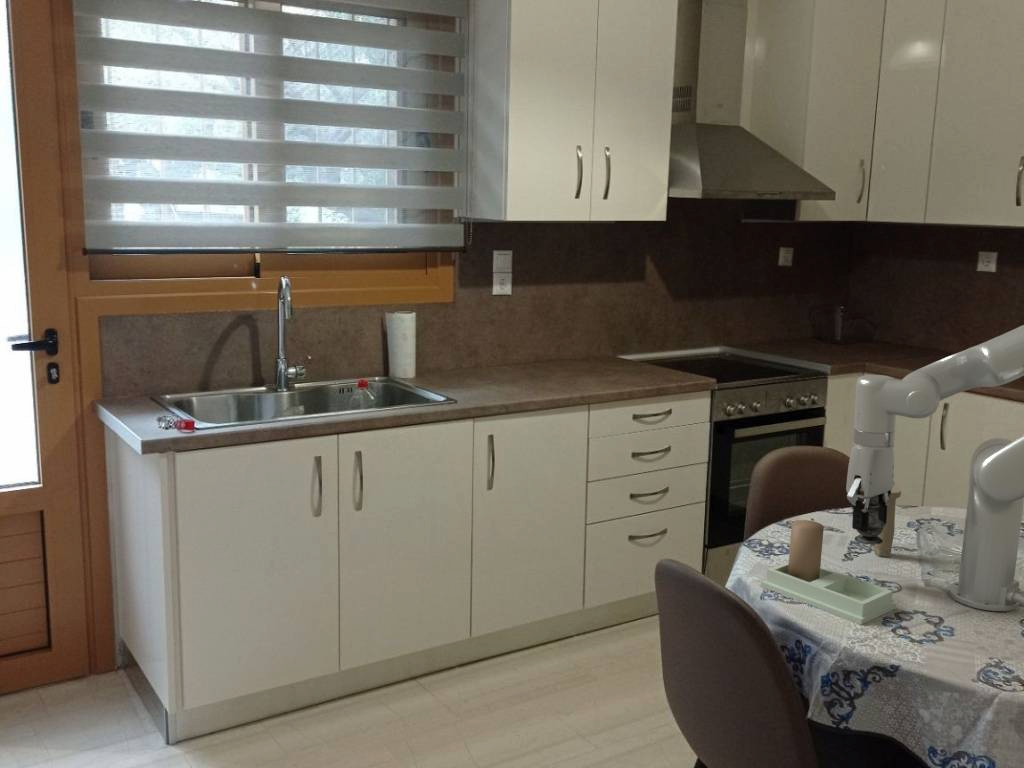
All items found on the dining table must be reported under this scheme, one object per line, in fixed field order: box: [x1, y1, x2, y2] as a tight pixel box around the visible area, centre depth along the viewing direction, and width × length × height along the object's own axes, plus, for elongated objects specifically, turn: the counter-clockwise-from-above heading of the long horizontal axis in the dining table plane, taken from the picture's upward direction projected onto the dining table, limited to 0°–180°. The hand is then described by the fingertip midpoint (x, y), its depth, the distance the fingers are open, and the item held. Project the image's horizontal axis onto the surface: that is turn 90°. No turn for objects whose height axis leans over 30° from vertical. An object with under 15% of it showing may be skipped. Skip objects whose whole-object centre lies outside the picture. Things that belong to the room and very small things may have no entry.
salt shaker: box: [854, 492, 885, 546], centre depth 198 cm, size 6×6×12 cm
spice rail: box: [760, 519, 898, 626], centre depth 191 cm, size 22×12×13 cm, turn 39°
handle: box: [873, 484, 902, 558], centre depth 214 cm, size 5×6×15 cm
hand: (869, 525), depth 198 cm, fingers closed on salt shaker, 5 cm apart
